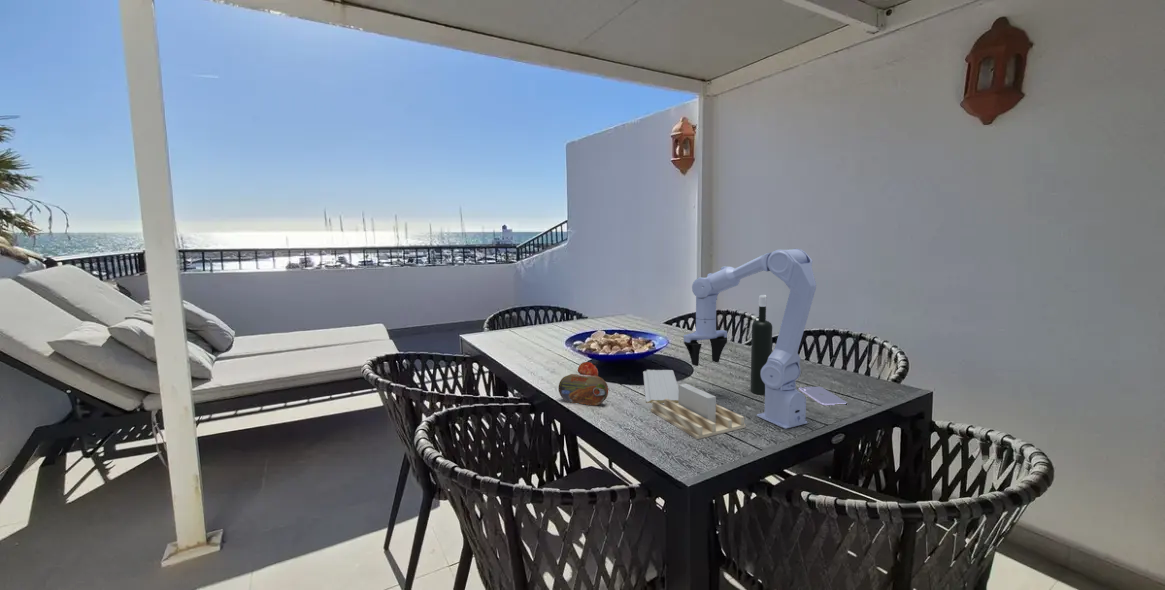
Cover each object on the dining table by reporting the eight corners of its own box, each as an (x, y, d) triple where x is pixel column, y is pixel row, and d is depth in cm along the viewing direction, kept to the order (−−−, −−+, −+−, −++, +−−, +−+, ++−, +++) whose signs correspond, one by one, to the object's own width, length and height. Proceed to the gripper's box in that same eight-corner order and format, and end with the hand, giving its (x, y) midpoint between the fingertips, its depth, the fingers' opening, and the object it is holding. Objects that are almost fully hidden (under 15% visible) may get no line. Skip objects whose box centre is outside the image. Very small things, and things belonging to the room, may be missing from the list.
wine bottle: (757, 395, 135) (760, 296, 132) (746, 389, 141) (748, 294, 137) (774, 393, 137) (777, 295, 133) (762, 388, 142) (765, 293, 139)
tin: (558, 401, 134) (557, 374, 133) (562, 398, 137) (562, 371, 136) (606, 407, 129) (605, 379, 128) (609, 404, 132) (609, 375, 131)
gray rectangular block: (715, 423, 114) (715, 396, 113) (707, 425, 113) (707, 398, 112) (685, 408, 125) (686, 383, 124) (678, 409, 124) (678, 384, 123)
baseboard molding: (640, 404, 132) (682, 405, 131) (640, 395, 132) (682, 395, 130) (639, 373, 163) (672, 374, 161) (639, 365, 162) (672, 366, 161)
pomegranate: (584, 393, 148) (607, 373, 149) (569, 376, 147) (593, 356, 148) (580, 388, 155) (602, 369, 156) (567, 372, 154) (589, 353, 155)
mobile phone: (822, 403, 127) (797, 386, 141) (822, 406, 127) (796, 389, 142) (849, 402, 127) (821, 385, 141) (849, 406, 127) (821, 388, 142)
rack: (745, 427, 113) (745, 416, 113) (697, 439, 107) (697, 428, 106) (694, 402, 131) (694, 393, 131) (650, 411, 125) (650, 401, 125)
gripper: (716, 314, 139) (715, 357, 140) (677, 318, 133) (677, 363, 135) (732, 317, 132) (731, 362, 134) (692, 322, 127) (692, 369, 128)
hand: (705, 363), depth 134 cm, fingers open, 7 cm apart
